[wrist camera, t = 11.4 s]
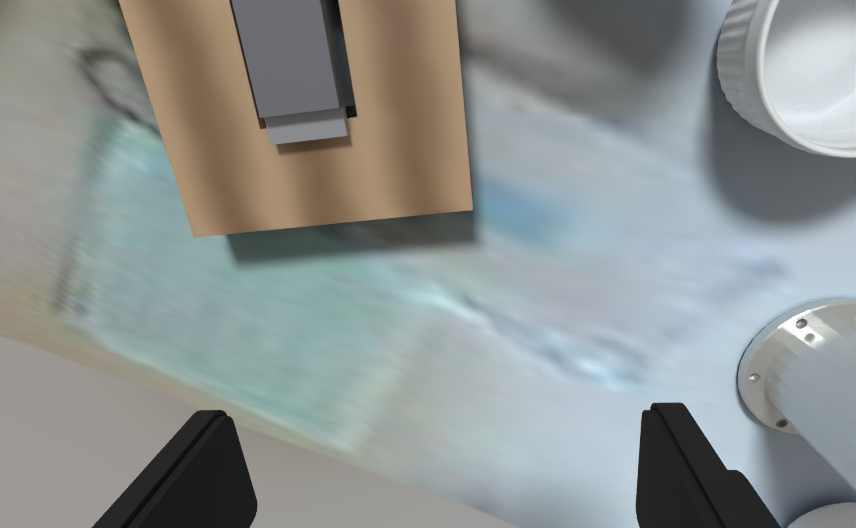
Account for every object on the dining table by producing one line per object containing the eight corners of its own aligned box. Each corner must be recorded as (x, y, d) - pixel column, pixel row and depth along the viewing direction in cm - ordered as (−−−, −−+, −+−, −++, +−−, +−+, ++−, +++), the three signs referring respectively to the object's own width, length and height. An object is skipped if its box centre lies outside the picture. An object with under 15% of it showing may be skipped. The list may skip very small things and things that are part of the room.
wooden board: (439, -174, 27) (436, -216, 23) (471, 196, 35) (473, 209, 31) (123, -115, 29) (73, -144, 25) (220, 221, 37) (193, 237, 33)
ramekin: (732, 179, 33) (798, 202, 27) (664, 1, 29) (722, -22, 23) (939, 76, 30) (1071, 75, 23) (893, -138, 26) (1035, -211, 20)
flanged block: (332, -40, 29) (308, -64, 24) (360, 129, 33) (344, 137, 28) (257, -28, 30) (220, -49, 25) (293, 137, 33) (266, 146, 29)
